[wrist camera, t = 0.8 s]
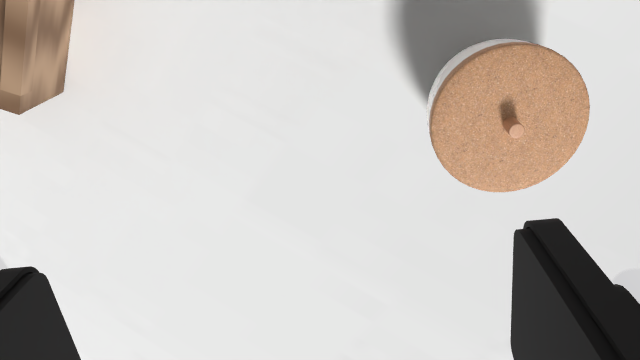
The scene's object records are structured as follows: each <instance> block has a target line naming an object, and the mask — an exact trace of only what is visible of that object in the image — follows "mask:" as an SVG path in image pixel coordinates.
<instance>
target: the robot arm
mask: <svg viewBox="0 0 640 360" xmlns="http://www.w3.org/2000/svg"><path fill="white" fill-rule="evenodd" d="M511 349H512V354H513V358H514V360H640V304H639V303H638V302H637V301H636V299H635V298H634V297H633V296H632V295H631V294H630V293H629V291H627V290H626V289H625V288H624V287H623V286H621V285H617V284H615V285H613V283H612V282H611V281H610V280H609V279H608V277H607V276H606V275H605V274H604V272H603V271H602V270H601V269H600V268H599V266H598V265H597V264H596V263H595V261H594V260H593V259H592V258H591V257H590V255H589V254H588V253H587V252H586V250H585V249H584V248H583V247H582V246H581V244H580V243H579V242H578V241H577V240H576V238H575V237H574V236H573V235H572V233H571V232H570V231H569V230H568V229H567V227H566V226H565V225H564V224H563V222H562V221H561V220H560V219H557V218H555V219H544V220H533V221H526V222H525V224H524V227H523V229H518V230H516V231H515V233H514V247H513V280H512V313H511ZM0 360H81V359H80V356H79V354H78V352H77V349H76V347H75V344H74V342H73V339H72V337H71V335H70V332H69V330H68V327H67V325H66V322H65V320H64V318H63V315H62V313H61V310H60V308H59V305H58V303H57V301H56V298H55V296H54V293H53V291H52V289H51V286H50V284H49V281H48V279H47V277H46V276H45V275H44V274H43V273H39V271H38V270H37V269H36V268H34V267H20V268H9V269H2V270H0Z"/></svg>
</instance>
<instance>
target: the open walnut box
mask: <svg viewBox="0 0 640 360" xmlns="http://www.w3.org/2000/svg"><path fill="white" fill-rule="evenodd" d="M73 7H74V0H0V109H2V110H5V111H9V112H12V113H15V114H18V115H20V114H22V113H24V112H25V111H27V110H29V109H31V108H33V107H35V106H37V105H39V104H41V103H43V102H45V101H47V100H49V99H51V98H53V97H55V96H57V95H59V94H60V93H62V92H63V90H64V82H65V73H66V65H67V57H68V49H69V40H70V32H71V24H72V15H73Z"/></svg>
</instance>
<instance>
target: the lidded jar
mask: <svg viewBox="0 0 640 360" xmlns="http://www.w3.org/2000/svg"><path fill="white" fill-rule="evenodd" d="M589 110H590V105H589V95H588V92H587V88H586V85H585V83H584V81H583V79H582V77H581V75H580V73H579V72H578V70H577V69H576V68H575V67H574V65H573V64H572V63H571V62H569V61H568V60H567V59H566V58H565V57H564V56H562V55H560V54H559V53H557V52H555V51H553V50H552V49H549V48H546V47H544V46H541V45H538V44H533V43H530V42H527V41H522V40H517V39H494V40H488V41H484V42H481V43H477V44H474V45H472V46H470V47H468V48H466V49H464V50H463V51H461V52H459V53H458V54H456V55H455V56H454V57H453V58H452V59H451V60H449V61H448V62H447V64H446V65H445V66H444V67H443V68H442V69H441V71H440V72H439V74H438V76H437V77H436V79H435V81H434V83H433V85H432V88H431V91H430V94H429V98H428V104H427V123H428V129H429V133H430V137H431V142H432V146H433V148H434V150H435V153H436V155H437V157H438V159H439V161H440V162H441V164H442V165H443V167H444V168H445V169H446V170H447V171H448V172H449V173H450V174H451V175H452V176H453V177H455V178H456V179H457V180H459V181H460V182H462V183H464V184H466V185H468V186H470V187H473V188H476V189H479V190H484V191H489V192H509V191H516V190H520V189H524V188H527V187H530V186H532V185H535V184H538V183H539V182H541V181H543V180H545V179H547V178H548V177H550V176H551V175H553V174H554V173H555V172H557V171H558V170H559V169H560V168H561V167H562V166H563V165H564V164H566V163H567V162H568V160H569V159H570V158H571V157H572V155H573V154H574V153H575V151H576V150H577V148H578V146H579V145H580V143H581V141H582V139H583V136H584V134H585V132H586V128H587V124H588V120H589Z"/></svg>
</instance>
